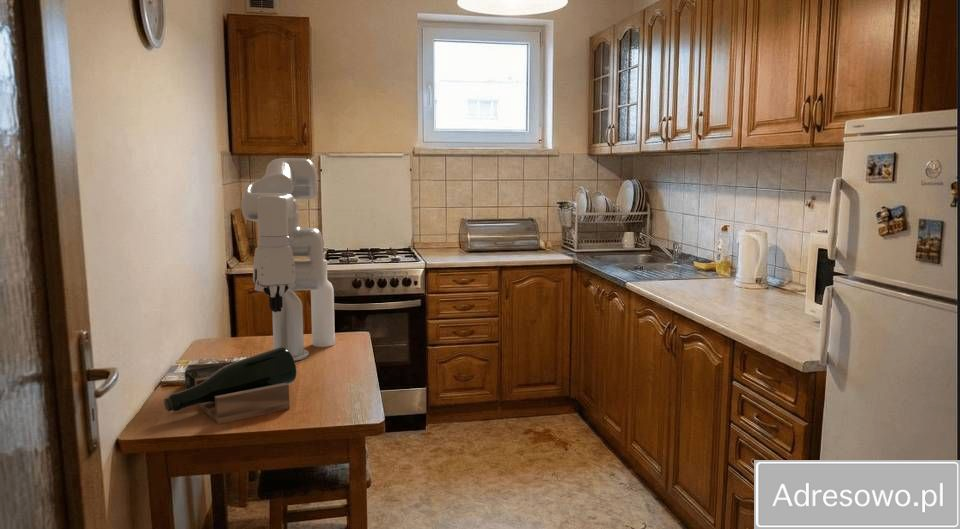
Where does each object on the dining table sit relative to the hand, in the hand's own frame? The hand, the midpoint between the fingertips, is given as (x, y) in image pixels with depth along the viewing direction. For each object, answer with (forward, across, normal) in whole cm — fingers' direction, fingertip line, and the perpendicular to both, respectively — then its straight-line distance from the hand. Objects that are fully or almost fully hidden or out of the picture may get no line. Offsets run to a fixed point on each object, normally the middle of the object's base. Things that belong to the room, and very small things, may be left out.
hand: (276, 310), depth 182 cm
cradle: (+24, +10, 0) cm, 26 cm away
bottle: (+24, -34, -45) cm, 61 cm away
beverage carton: (+25, +9, -20) cm, 33 cm away
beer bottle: (+16, -4, -3) cm, 17 cm away
